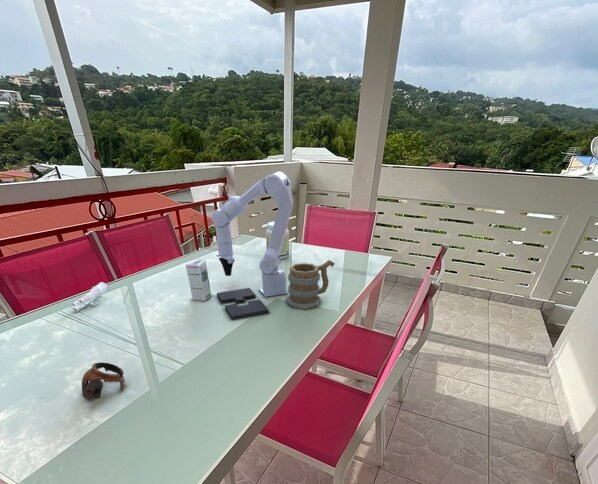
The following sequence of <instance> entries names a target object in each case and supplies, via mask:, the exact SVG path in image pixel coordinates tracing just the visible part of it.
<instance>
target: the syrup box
mask: <svg viewBox="0 0 598 484" xmlns="http://www.w3.org/2000/svg"><path fill="white" fill-rule="evenodd" d="M185 269H186V275H187V279H188V285H189V288H190V289H189V290H190V293H191V298H192V300H193V301H203V302H205V301H207V300H208V299H209V298H210V297H211V296H212V291H211V285H210V279H209V274H208V267H207V262H206V260H202V259H192V260H191V261H190V262H188V263H186V264H185Z"/></svg>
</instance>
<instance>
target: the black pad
mask: <svg viewBox="0 0 598 484" xmlns="http://www.w3.org/2000/svg"><path fill="white" fill-rule="evenodd" d="M216 296H217V298H218V300H219V302H220V303H221V305H223V304H224V305H225V304H230V303H235V304H236V303H237V305H239V304H244V303H245V301H247V300H251V299H252V300H253V299H256V297H257V295H256V293H255V292H254V291H253V290H252V289H251V288H250V287H246V288H240V289H233V290H227V291H220V292H216Z"/></svg>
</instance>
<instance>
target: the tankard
mask: <svg viewBox="0 0 598 484" xmlns="http://www.w3.org/2000/svg"><path fill="white" fill-rule="evenodd" d="M334 266H335V262H334V261H332V260H330V259H328V260H327V261H325V262H324V263H322V264H320V265H315V264H313V263H307V262H301V263H295V264H293V265H292V266H291V267H289V273H288V275H287V280H288V281H289V286H288V287H287V291H288V293H289V295H288V296H287V298H286V303H287V304H288V305H289V306H290V307H292V308H293V309H294V308H296V309H300V310H308V309H312V308H317V307H318V306H319V304H320V303H321V301H322V299H321V297H320V296H319V295H321V294H322V295H323V294H325V293H326V291H327V290H328V287H329V281H330V280H329V278H328V274H327V273H328V272H327V271H328V270H327V269H328V268H329V267H332V268H333V267H334ZM319 272H320V273H319ZM320 279H321V280H322V286H321V287H320V285H319V281H320Z"/></svg>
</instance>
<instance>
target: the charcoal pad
mask: <svg viewBox="0 0 598 484" xmlns="http://www.w3.org/2000/svg"><path fill="white" fill-rule="evenodd" d="M224 310H225V311H226V313H227V315H228V316H229V318H230V319H231V320H232V321H235V320H239V319H245V318H250V317H256V316H261V315H266V314H267V315H268V314H269V309H268V307H267V306H266V305H265V304H264V302H263V301H262V300H261V299H254V300H253V299H252V300H248V302H247V304H242V305H239V304H237V303H236V302H235V303H229V304H224Z"/></svg>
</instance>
